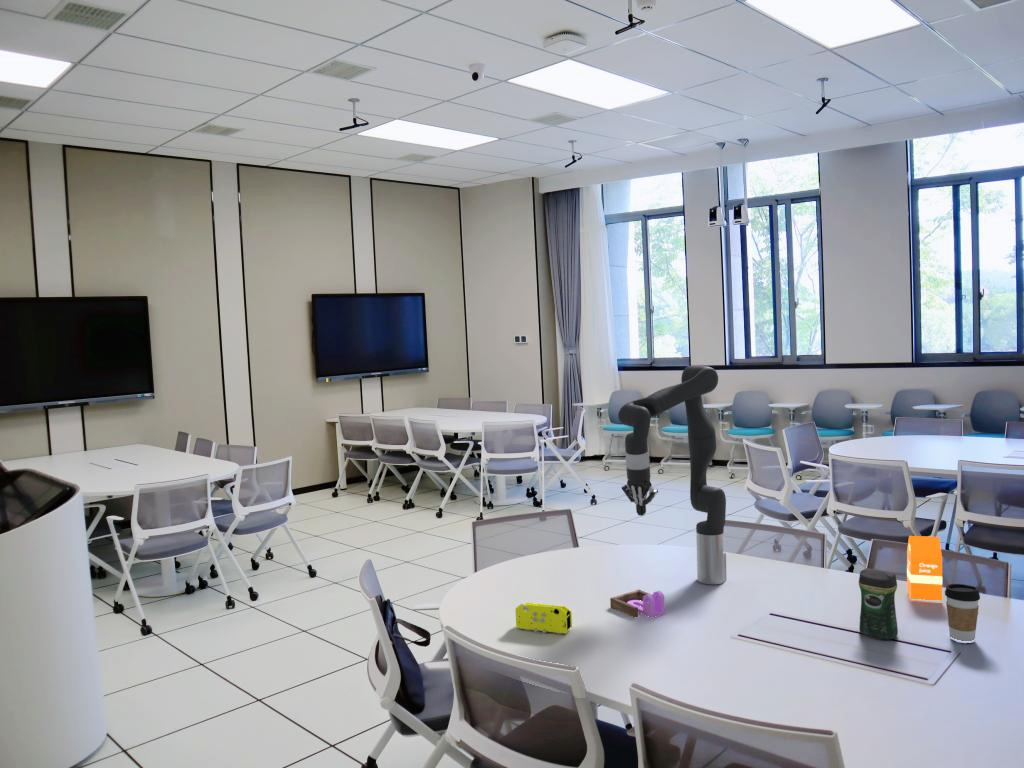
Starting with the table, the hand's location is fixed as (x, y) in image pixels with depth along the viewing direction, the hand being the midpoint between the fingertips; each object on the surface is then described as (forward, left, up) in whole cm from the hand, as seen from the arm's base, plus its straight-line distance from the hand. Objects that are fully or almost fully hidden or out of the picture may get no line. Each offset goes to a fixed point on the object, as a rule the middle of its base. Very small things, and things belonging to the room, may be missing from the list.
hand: (641, 514), depth 253 cm
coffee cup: (-44, +80, -28) cm, 95 cm away
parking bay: (+8, +6, -28) cm, 30 cm away
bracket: (+8, +8, -28) cm, 30 cm away
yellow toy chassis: (+42, +1, -28) cm, 50 cm away
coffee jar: (-30, +64, -28) cm, 76 cm away
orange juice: (-67, +57, -28) cm, 92 cm away
